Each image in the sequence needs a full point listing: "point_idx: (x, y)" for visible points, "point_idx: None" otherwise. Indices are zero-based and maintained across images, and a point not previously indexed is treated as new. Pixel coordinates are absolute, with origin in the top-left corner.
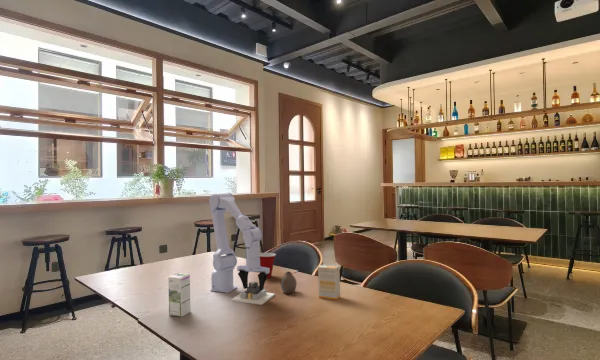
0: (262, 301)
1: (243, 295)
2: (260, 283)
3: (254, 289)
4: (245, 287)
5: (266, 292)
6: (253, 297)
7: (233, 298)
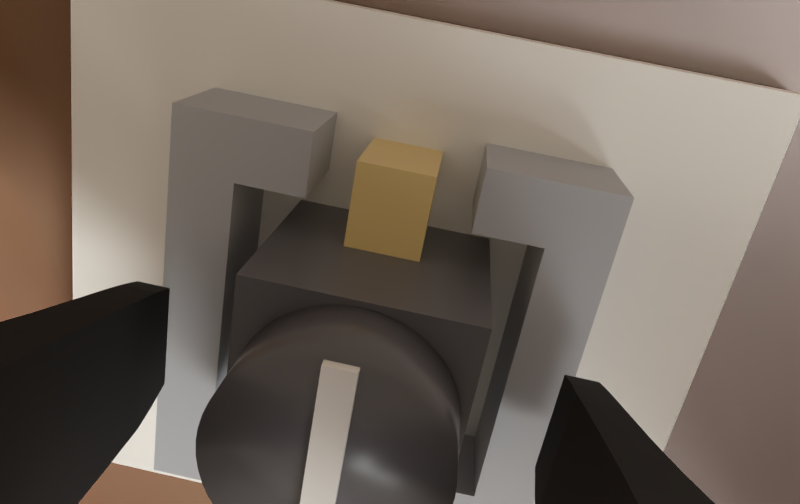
0: (91, 31)
1: (544, 171)
2: (6, 336)
3: (268, 269)
4: (561, 410)
5: None
6: (293, 115)
7: (769, 135)
